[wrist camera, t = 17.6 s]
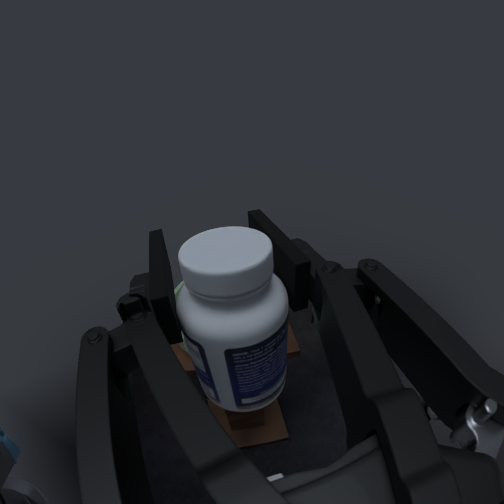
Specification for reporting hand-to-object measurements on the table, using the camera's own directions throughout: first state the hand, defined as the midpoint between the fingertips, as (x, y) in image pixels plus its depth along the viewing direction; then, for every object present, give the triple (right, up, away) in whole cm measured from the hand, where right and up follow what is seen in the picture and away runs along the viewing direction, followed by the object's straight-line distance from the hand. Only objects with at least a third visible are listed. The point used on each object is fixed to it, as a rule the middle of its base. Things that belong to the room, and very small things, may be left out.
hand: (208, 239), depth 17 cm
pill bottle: (+2, -9, 0) cm, 9 cm away
